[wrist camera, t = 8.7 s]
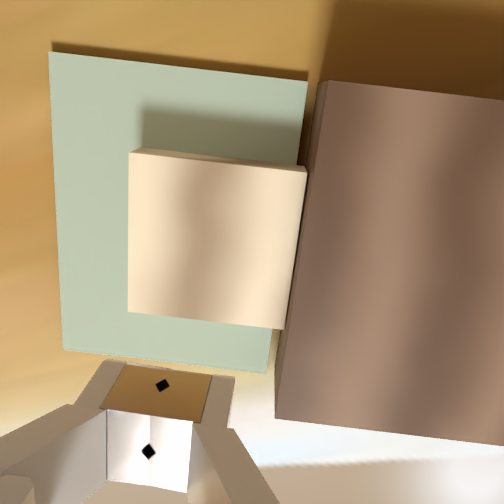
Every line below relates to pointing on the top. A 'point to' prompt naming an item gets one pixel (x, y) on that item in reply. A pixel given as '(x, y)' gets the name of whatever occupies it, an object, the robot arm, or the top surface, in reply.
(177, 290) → the birch tile
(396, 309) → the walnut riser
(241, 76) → the rubber mat
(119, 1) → the top surface
